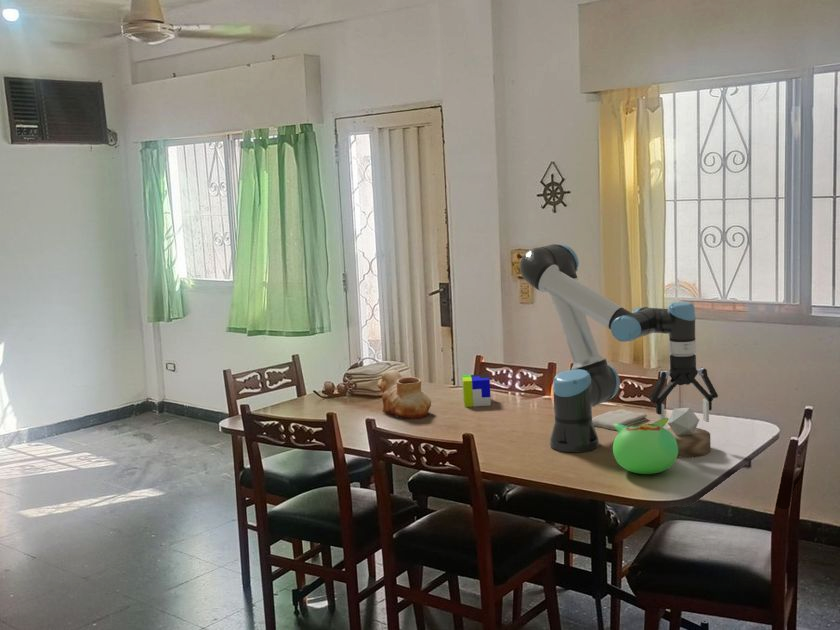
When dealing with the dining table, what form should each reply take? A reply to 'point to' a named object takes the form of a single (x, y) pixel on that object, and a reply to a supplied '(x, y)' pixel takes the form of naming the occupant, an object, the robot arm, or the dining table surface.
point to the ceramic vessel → (403, 396)
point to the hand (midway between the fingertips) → (684, 422)
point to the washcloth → (618, 418)
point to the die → (683, 421)
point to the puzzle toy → (476, 390)
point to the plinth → (693, 443)
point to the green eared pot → (645, 447)
